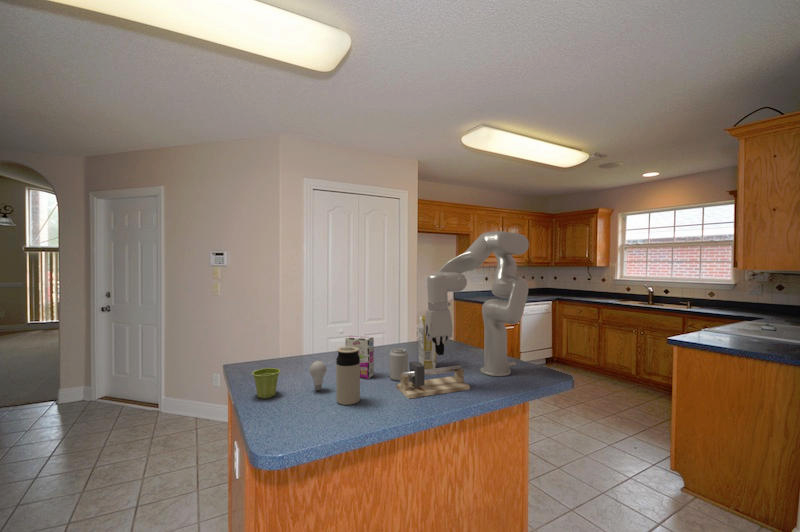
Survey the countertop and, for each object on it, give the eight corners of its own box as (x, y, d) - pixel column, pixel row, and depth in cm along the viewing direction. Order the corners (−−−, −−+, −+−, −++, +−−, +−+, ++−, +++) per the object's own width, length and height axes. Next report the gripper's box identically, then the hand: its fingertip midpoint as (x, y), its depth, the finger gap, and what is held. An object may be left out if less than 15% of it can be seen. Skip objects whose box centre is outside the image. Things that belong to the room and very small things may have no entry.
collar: (416, 379, 138) (416, 361, 138) (424, 385, 131) (424, 366, 131) (409, 380, 137) (409, 362, 137) (417, 386, 130) (416, 367, 130)
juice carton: (436, 370, 160) (436, 316, 160) (419, 370, 160) (418, 316, 160) (435, 364, 169) (435, 313, 169) (418, 364, 169) (418, 313, 169)
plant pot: (252, 393, 132) (252, 369, 132) (279, 389, 136) (279, 366, 136) (252, 402, 124) (252, 376, 124) (281, 398, 127) (281, 373, 127)
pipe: (458, 370, 142) (458, 364, 142) (461, 371, 140) (461, 365, 140) (402, 377, 133) (402, 371, 133) (404, 379, 131) (404, 372, 131)
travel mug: (349, 407, 119) (349, 352, 119) (331, 402, 123) (331, 349, 123) (364, 399, 126) (364, 347, 126) (346, 395, 130) (346, 345, 130)
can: (405, 382, 144) (405, 352, 144) (387, 380, 146) (387, 351, 146) (409, 376, 152) (409, 347, 151) (391, 375, 153) (391, 346, 153)
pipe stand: (453, 379, 147) (453, 363, 147) (469, 389, 136) (469, 372, 136) (396, 387, 138) (396, 370, 137) (408, 398, 126) (408, 380, 126)
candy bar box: (374, 376, 152) (374, 337, 152) (368, 379, 147) (368, 339, 147) (351, 373, 156) (351, 335, 156) (345, 376, 152) (344, 337, 151)
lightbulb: (329, 388, 136) (329, 359, 136) (320, 394, 131) (320, 364, 131) (315, 387, 138) (315, 358, 138) (306, 392, 133) (306, 362, 133)
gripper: (450, 303, 144) (452, 349, 145) (416, 307, 139) (418, 354, 139) (460, 305, 137) (462, 353, 138) (424, 309, 132) (426, 359, 132)
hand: (439, 354), depth 139 cm, fingers closed
